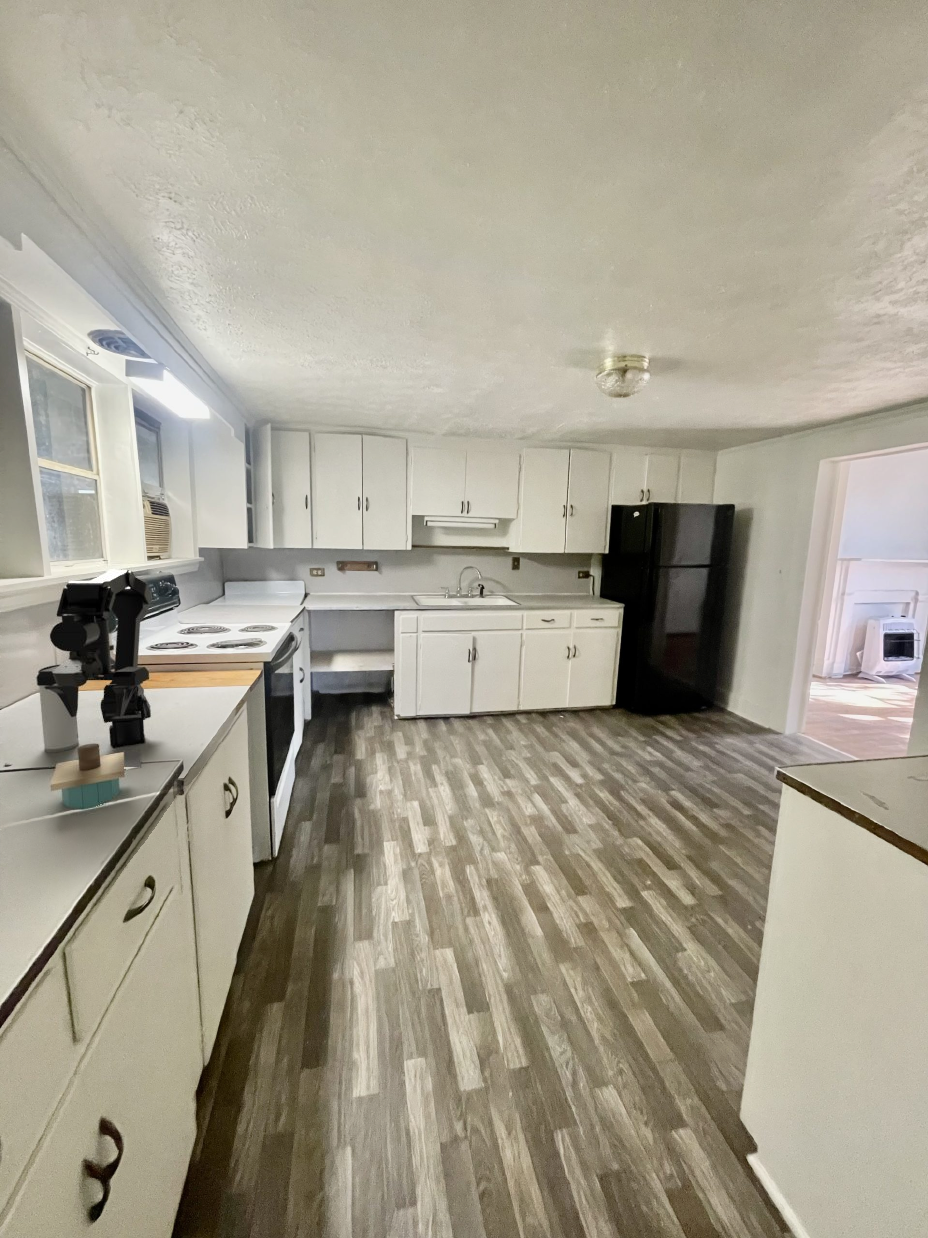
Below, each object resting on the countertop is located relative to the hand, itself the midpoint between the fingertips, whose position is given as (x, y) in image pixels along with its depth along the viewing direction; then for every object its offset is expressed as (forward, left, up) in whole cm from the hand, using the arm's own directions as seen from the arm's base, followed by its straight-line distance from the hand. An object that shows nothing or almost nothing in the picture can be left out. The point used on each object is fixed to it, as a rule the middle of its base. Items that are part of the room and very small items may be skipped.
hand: (97, 716), depth 101 cm
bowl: (+1, +12, -12) cm, 17 cm away
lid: (+1, +12, -8) cm, 14 cm away
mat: (-1, -4, -12) cm, 13 cm away
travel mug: (+8, -21, -13) cm, 26 cm away
